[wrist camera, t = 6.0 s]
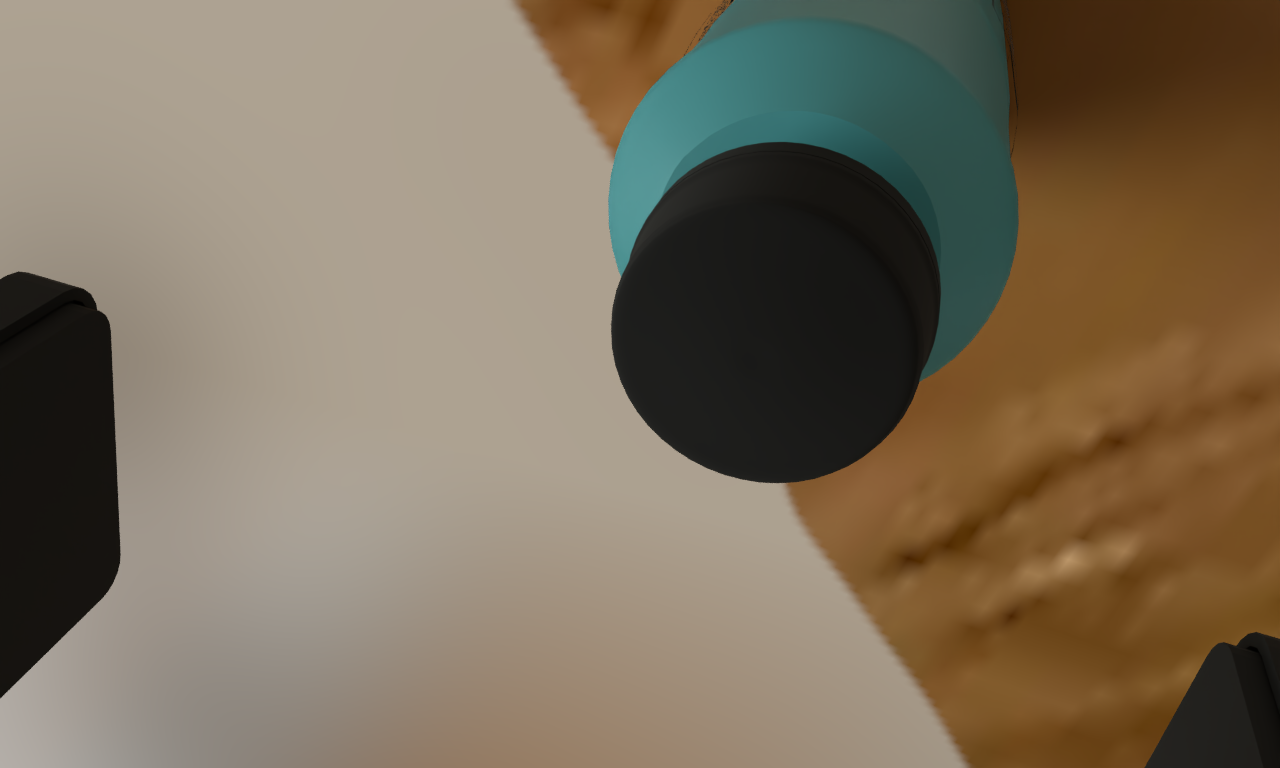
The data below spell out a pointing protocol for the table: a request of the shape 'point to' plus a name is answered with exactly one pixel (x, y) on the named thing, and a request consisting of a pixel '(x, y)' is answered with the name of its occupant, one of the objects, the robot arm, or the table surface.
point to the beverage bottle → (810, 226)
